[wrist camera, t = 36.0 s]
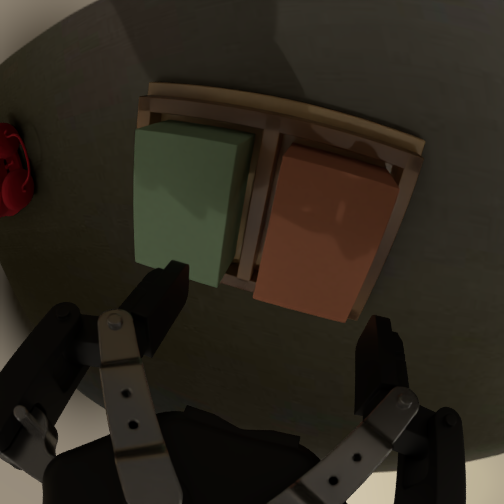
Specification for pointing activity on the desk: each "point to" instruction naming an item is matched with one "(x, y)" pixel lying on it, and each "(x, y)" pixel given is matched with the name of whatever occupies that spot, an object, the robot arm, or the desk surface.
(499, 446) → the desk surface
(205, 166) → the pad sage
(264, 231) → the divided wooden tray
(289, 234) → the pad terracotta
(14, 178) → the alarm clock
